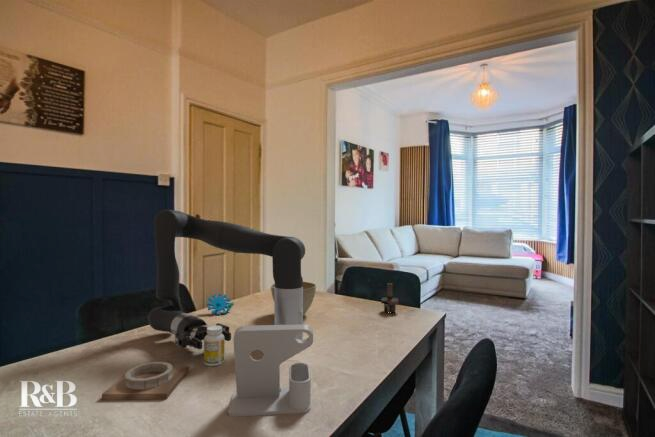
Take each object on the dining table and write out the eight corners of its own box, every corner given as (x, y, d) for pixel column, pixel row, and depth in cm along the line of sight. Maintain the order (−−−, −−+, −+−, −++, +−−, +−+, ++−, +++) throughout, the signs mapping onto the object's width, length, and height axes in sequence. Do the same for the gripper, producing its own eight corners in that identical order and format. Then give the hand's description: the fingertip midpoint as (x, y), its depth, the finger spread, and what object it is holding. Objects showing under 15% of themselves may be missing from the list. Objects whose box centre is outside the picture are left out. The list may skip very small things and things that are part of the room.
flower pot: (324, 313, 145) (324, 284, 145) (297, 324, 130) (297, 292, 130) (289, 306, 155) (290, 279, 155) (261, 316, 140) (261, 286, 139)
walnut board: (189, 370, 92) (189, 358, 91) (166, 398, 78) (166, 384, 78) (134, 371, 91) (134, 358, 91) (101, 399, 77) (101, 385, 77)
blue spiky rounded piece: (206, 313, 139) (207, 291, 145) (203, 320, 142) (205, 299, 149) (234, 314, 143) (234, 293, 150) (231, 321, 146) (232, 300, 153)
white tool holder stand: (310, 388, 83) (310, 312, 82) (312, 413, 73) (313, 326, 72) (234, 392, 81) (235, 314, 81) (226, 417, 71) (227, 328, 71)
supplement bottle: (210, 368, 93) (210, 332, 93) (200, 362, 96) (200, 328, 96) (228, 362, 97) (228, 327, 97) (217, 356, 101) (217, 323, 100)
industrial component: (389, 308, 153) (389, 281, 153) (402, 312, 148) (402, 283, 148) (374, 312, 148) (374, 283, 147) (387, 316, 142) (387, 286, 142)
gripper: (164, 320, 102) (190, 333, 91) (210, 311, 112) (238, 321, 101) (164, 346, 102) (190, 362, 91) (210, 334, 112) (238, 347, 101)
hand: (215, 341), depth 96 cm, fingers open, 8 cm apart
